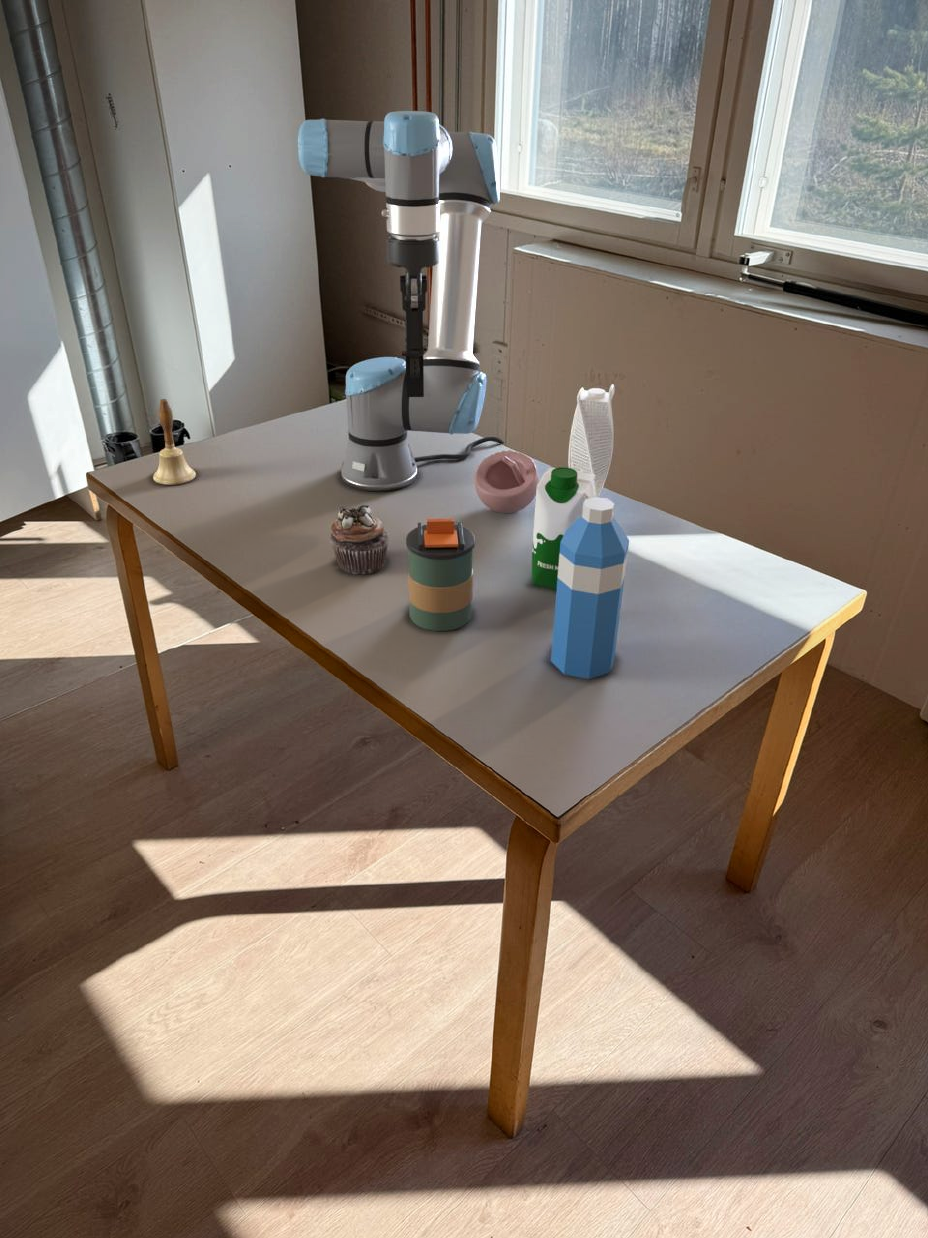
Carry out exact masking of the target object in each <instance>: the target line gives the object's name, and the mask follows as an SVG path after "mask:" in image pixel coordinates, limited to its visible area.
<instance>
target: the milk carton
mask: <svg viewBox="0 0 928 1238" xmlns="http://www.w3.org/2000/svg"><path fill="white" fill-rule="evenodd" d="M594 479H595V474H590V473H583V472H577V471H575V470H574V469H571V468H569V467H565V466H562V467H548V469H547V470H546V472H544V473H543V474H542V477H541V479H539V483H538V485H537V491H536V495H535V505H534V517H533V518H534V519H533V533H532V534H533V536H532V550H531V575H532V578H531V579H532V580H531V582H532V586H536V587H542V588H548V589H552V590H557V579H558V567H559V555H560V542H561V540H562V538H563V536H564V534H565V532H566V530H567V529H568V528H569V527H570V526H571V525H572V524H573V523H574V522H575V521H576V520H577V519H578V518H579V517H580V516H581V515H582V512H583V503H584V501H585V499H588V498H593V497H594Z"/></svg>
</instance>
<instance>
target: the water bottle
mask: <svg viewBox="0 0 928 1238" xmlns="http://www.w3.org/2000/svg"><path fill="white" fill-rule="evenodd" d="M614 510H615V502H614V501H612V500H611V499H609V498H607V497H600V496H599V497H593V498H588V499H585V501H584V503H583V512H582V515H581V516H580V517H579V518H578V519H577V520H576V521H575V522H574V523H573V524H572V525H571V526H570V527H569V528H568V529H567V530H566V532H565V534H564V536H563V538H562V540H561V542H560V555H559V567H558V579H557V589H556V591H555V592H556V593H555V607H554V617H553V628H552V642H551V652H550V653H551V654H550V662H551V663H552V664H553V665H554V666H555V667H556V668H557V669H558V670H559V671H560V672H561V673H562V674H563V675H564V676H565V675H566V676H572V677H576V678H581V679H587V680H590V679H594V678H596V677H597V678H598V677H601V676H603V675H607V674H609V673H611V671H612V668H613V663H614V660H615V656H616V655H615V654H616V648H617V638H618V632H619V625H620V617H621V610H622V609H621V608H622V599H623V593H624V592H623V591H624V584H625V577H626V570H627V569H626V568H627V561H628V553H629V546H630V539H629V537H628V536H627V535H626V533H625V532H624V530H623V529H622V528H621V525H620V524H619V523H618V521H617V520H616V519H615V517H614V512H615V511H614Z"/></svg>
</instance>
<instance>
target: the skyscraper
mask: <svg viewBox="0 0 928 1238" xmlns="http://www.w3.org/2000/svg"><path fill="white" fill-rule="evenodd" d="M614 395H615V384H613V383H612V384H611V385H610V386H609V390H608V392H607V391H606V390H605V389H604V388H600V387H592V388H589V389H587V390H585V388H584V387H581V388H580V389H579V391H578V392H577V396H576V402H577V404H576V407H575V410H574V415H573V418H572V423H571V430H570V436H569V443H568V458H567V459H568V460H567V462H568V464H567V465H568V468H571V469H574V470H575V471H577V472H583V473H590V474H595V479H594V497H600V496H601V493H602V491H603V489H604V486H605V483H606V480H607V477H608V474H609V472H610V466H611V464H612V463H611V462H612V460H613V459H612V458H613V452H614V439H615V438H614V437H615V436H614V435H615V434H614V431H615V430H614V418H613V417H614V416H613V406H612V400H613V397H614Z"/></svg>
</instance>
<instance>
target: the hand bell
mask: <svg viewBox="0 0 928 1238" xmlns="http://www.w3.org/2000/svg"><path fill="white" fill-rule="evenodd" d="M158 420H159V423H160V425H161V428H162V430H163V435H164V445H165V447H164V448H163V449H161V450H160V451H159V453H158V455H159V457H158V458H159V463H158V468H157V470H156V471H155V472H154V474H153V476H152V479H153V481H154V482H155V483H157V484H160V485H165V486H167V485H168V486H173V485H182V484H185V483H188V482H190V481H192V480H194V479H195V478H196V476H197V473H196V472H195V470H194V469H193V468H191V467H190V466H189V464H188V463H187V461H186V459H185V455H184V453H183V450H182V449H180V447H176V446H175V440H174V435H173V426H174V425H173V424H174V415H173V410H172V407H171V406H170V403H169V401H168V399H167V398H161V399H160V400H159V406H158Z"/></svg>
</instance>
